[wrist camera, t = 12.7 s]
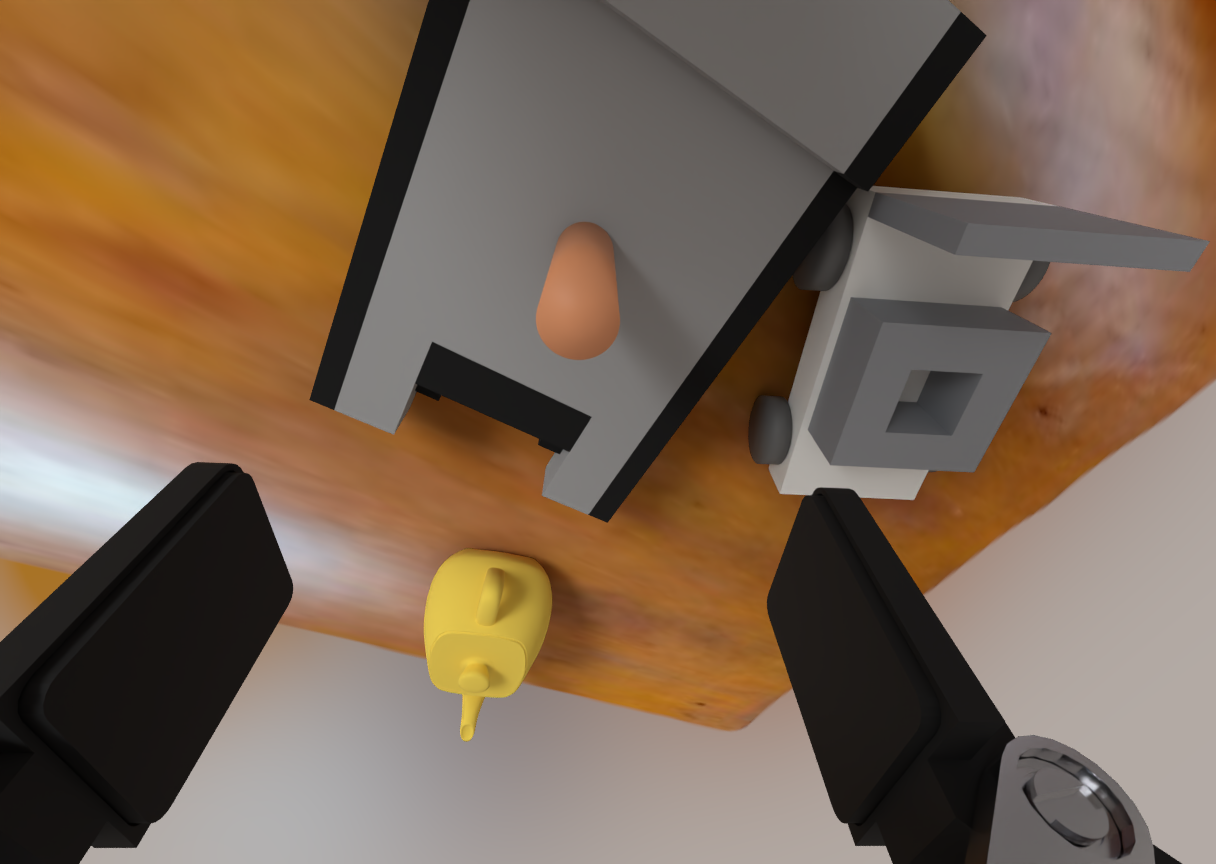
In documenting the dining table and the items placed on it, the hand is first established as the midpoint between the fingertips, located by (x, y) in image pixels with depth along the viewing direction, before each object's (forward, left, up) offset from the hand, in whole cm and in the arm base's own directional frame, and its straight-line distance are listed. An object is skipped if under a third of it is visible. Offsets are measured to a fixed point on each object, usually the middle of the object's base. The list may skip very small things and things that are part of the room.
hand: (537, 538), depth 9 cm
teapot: (+33, -7, -28) cm, 44 cm away
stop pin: (0, 0, -21) cm, 21 cm away
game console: (0, 0, -29) cm, 29 cm away
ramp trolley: (+6, +20, -28) cm, 35 cm away
